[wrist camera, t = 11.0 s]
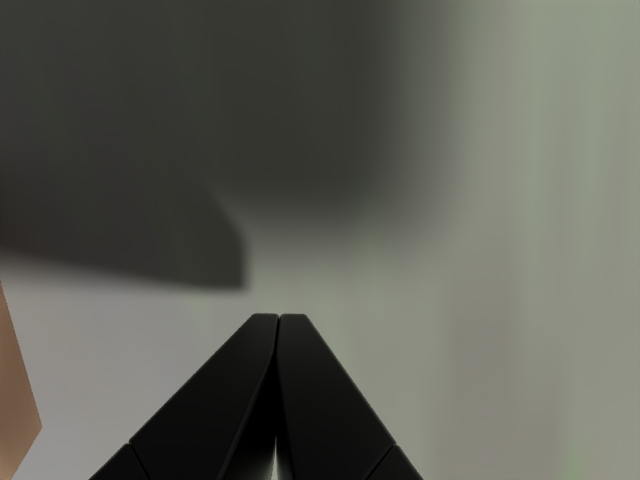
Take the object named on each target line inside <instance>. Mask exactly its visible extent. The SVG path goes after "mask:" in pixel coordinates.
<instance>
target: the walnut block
mask: <svg viewBox="0 0 640 480" xmlns="http://www.w3.org/2000/svg"><path fill="white" fill-rule="evenodd" d="M41 429H42V424H41V421H40V417H39V414H38V410H37V407H36V403H35V400H34V396H33V393H32V390H31V386H30V383H29V379H28V376H27V372H26V369H25V365H24V362H23V358H22V355H21V351H20V348H19V345H18V341H17V338H16V334H15V331H14V327H13V324H12V320H11V317H10V313H9V310H8V307H7V303H6V300H5V296H4V293H3V289H2V286H1V282H0V480H11V479H12V477H13V476H14V474H15V472H16V471H17V469H18V467H19V465H20V464H21V462H22V460H23V459H24V457H25V455H26V454H27V452H28V450H29V449H30V447H31V445H32V444H33V442H34V440H35V439H36V437H37V435H38V434H39V432H40V430H41Z"/></svg>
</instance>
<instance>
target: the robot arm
mask: <svg viewBox="0 0 640 480" xmlns="http://www.w3.org/2000/svg"><path fill="white" fill-rule="evenodd" d="M275 449H276V458H277V475H278V480H423V478H422V477H421V476H420V474H419V473H418V472H417V470H416V469H415V468H414V466H413V465H412V464H411V462H410V461H409V459H408V458H407V456H406V455H405V454H404V452H403V451H402V449H401V448H400V447H399V446H398V445H396V441H395V440H394V438H393V437H392V436H391V434H390V433H389V431H388V430H387V428H386V427H385V426H384V424H383V423H382V421H381V420H380V419H379V417H378V416H377V414H376V413H375V411H374V410H373V409H372V407H371V406H370V404H369V403H368V402H367V400H366V399H365V397H364V396H363V395H362V393H361V392H360V390H359V389H358V387H357V386H356V385H355V383H354V382H353V380H352V379H351V378H350V376H349V375H348V373H347V372H346V370H345V369H344V368H343V366H342V365H341V363H340V362H339V361H338V359H337V358H336V356H335V355H334V353H333V352H332V351H331V349H330V348H329V346H328V345H327V344H326V342H325V341H324V339H323V338H322V336H321V335H320V334H319V332H318V331H317V329H316V328H315V327H314V325H313V324H312V322H311V321H310V319H309V318H308V317H307V316H306V315H305V314H282V315H281V316H280V318H279V316H278V315H277V314H268V313H256V314H253V315H252V316H251V317H250V318H249V319H248V320H247V321H246V322H245V323H244V324H243V325H242V326H241V327H240V328H239V329H238V330H237V331H236V332H235V333H234V334H233V335H232V336H231V337H230V338H229V339H228V340H227V341H226V342H225V343H224V344H223V345H222V346H221V347H220V348H219V349H218V350H217V351H216V352H215V353H214V354H213V355H212V356H211V357H210V358H209V359H208V360H207V361H206V362H205V363H204V364H203V365H202V366H201V367H200V368H199V369H198V370H197V371H196V373H195V374H194V375H193V376H192V377H191V378H190V379H189V380H188V381H187V382H186V383H185V384H184V385H183V386H182V387H181V388H180V389H179V390H178V391H177V392H176V393H175V394H174V395H173V396H172V397H171V398H170V399H169V400H168V401H167V402H166V403H165V404H164V405H163V406H162V407H161V408H160V409H159V410H158V411H157V412H156V413H155V414H154V415H153V416H152V417H151V418H150V419H149V420H148V421H147V422H146V423H145V424H144V425H143V426H142V427H141V428H140V429H139V430H138V431H137V432H136V433H135V434H134V435H133V436H132V437H131V438H130V440H129V444H128V443H126V444H124V445H123V446H122V447H121V448H120V449H119V450H118V451H117V452H116V453H115V454H114V455H113V456H112V457H111V458H110V459H109V460H108V461H107V462H106V463H105V464H104V465H103V466H102V467H101V468H100V469H99V470H98V471H97V472H96V473H95V474H94V475H93V476H92V477H91V478H90V479H89V480H271V476H272V471H273V464H274V458H275Z"/></svg>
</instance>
